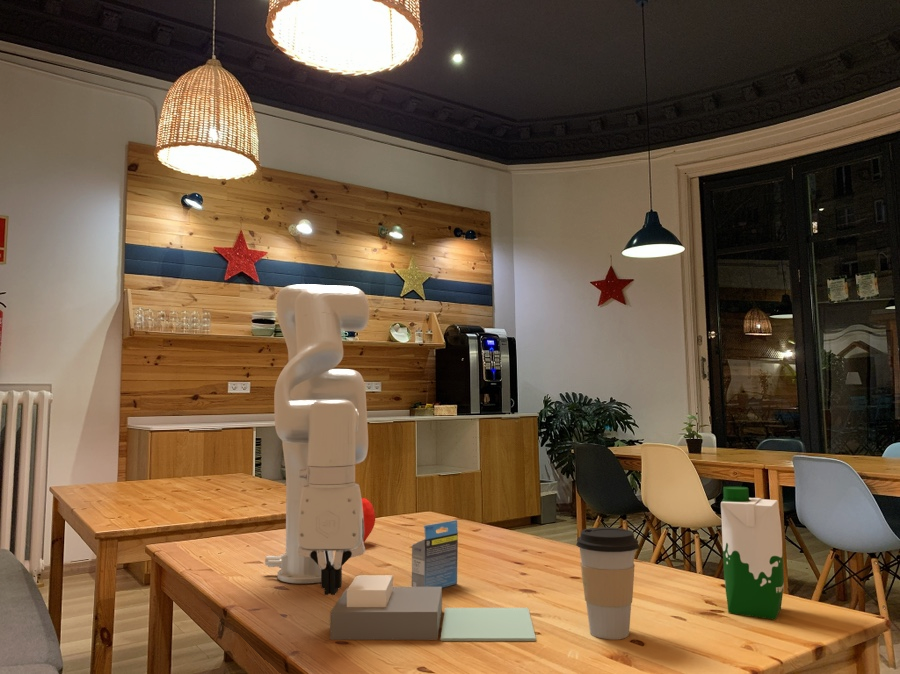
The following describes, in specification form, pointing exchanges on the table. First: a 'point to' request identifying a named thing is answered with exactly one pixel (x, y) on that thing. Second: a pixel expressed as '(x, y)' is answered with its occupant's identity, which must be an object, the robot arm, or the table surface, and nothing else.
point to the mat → (487, 624)
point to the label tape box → (436, 556)
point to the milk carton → (752, 554)
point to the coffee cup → (608, 579)
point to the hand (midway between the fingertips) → (331, 592)
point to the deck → (390, 617)
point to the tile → (370, 591)
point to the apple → (368, 517)
